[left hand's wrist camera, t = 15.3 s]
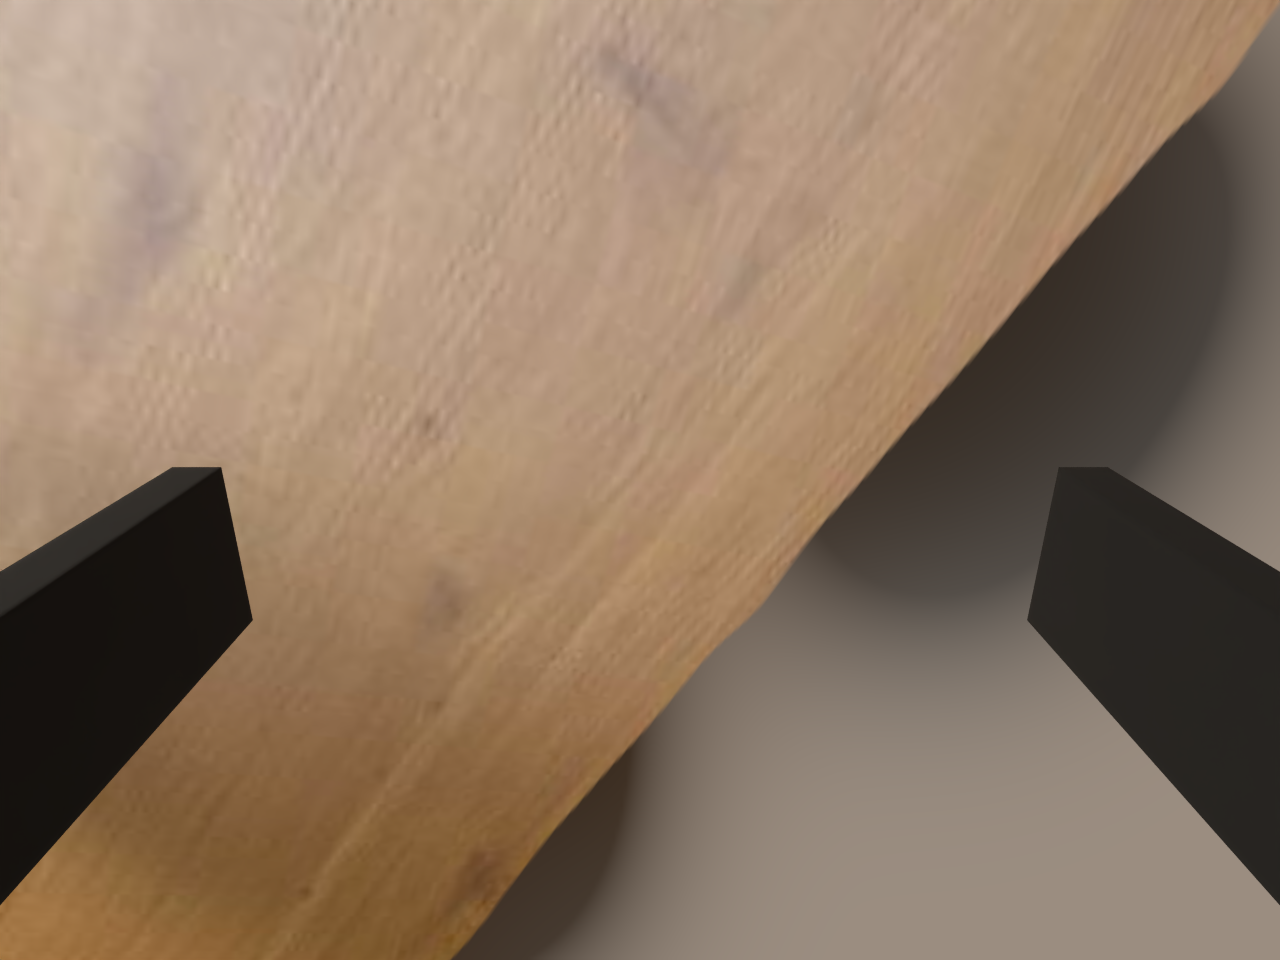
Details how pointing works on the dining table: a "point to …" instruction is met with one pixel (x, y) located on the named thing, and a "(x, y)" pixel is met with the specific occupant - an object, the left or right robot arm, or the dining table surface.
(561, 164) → the dining table surface
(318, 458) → the dining table surface
